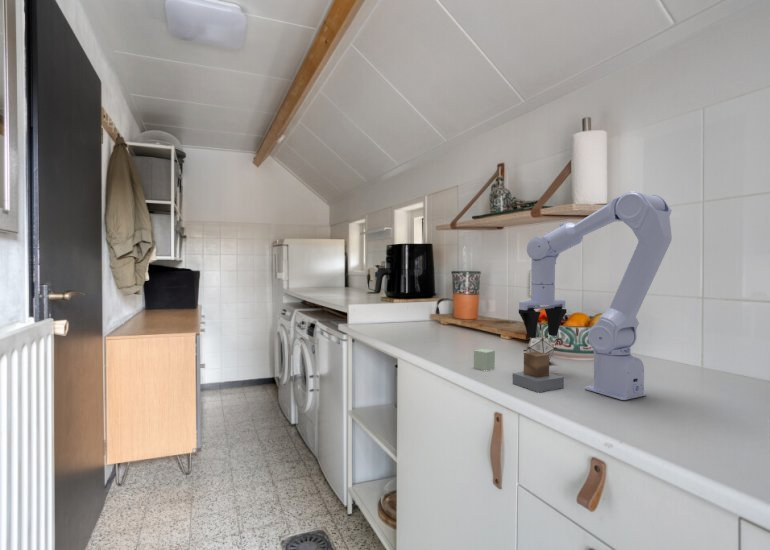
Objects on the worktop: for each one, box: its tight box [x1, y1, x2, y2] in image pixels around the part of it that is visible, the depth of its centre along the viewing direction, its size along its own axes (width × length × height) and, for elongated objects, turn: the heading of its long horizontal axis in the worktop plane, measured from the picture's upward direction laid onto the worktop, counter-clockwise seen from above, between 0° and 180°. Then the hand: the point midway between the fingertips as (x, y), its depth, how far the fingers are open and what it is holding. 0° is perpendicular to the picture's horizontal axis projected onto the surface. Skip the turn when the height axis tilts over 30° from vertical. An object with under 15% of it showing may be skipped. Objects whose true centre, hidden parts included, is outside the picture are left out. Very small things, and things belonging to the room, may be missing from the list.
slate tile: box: [512, 371, 565, 393], centre depth 100 cm, size 8×8×2 cm
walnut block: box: [523, 351, 550, 378], centre depth 101 cm, size 4×4×5 cm
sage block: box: [473, 348, 496, 372], centre depth 117 cm, size 4×4×5 cm
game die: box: [523, 334, 558, 365], centre depth 124 cm, size 9×8×10 cm
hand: (542, 336), depth 110 cm, fingers open, 7 cm apart
